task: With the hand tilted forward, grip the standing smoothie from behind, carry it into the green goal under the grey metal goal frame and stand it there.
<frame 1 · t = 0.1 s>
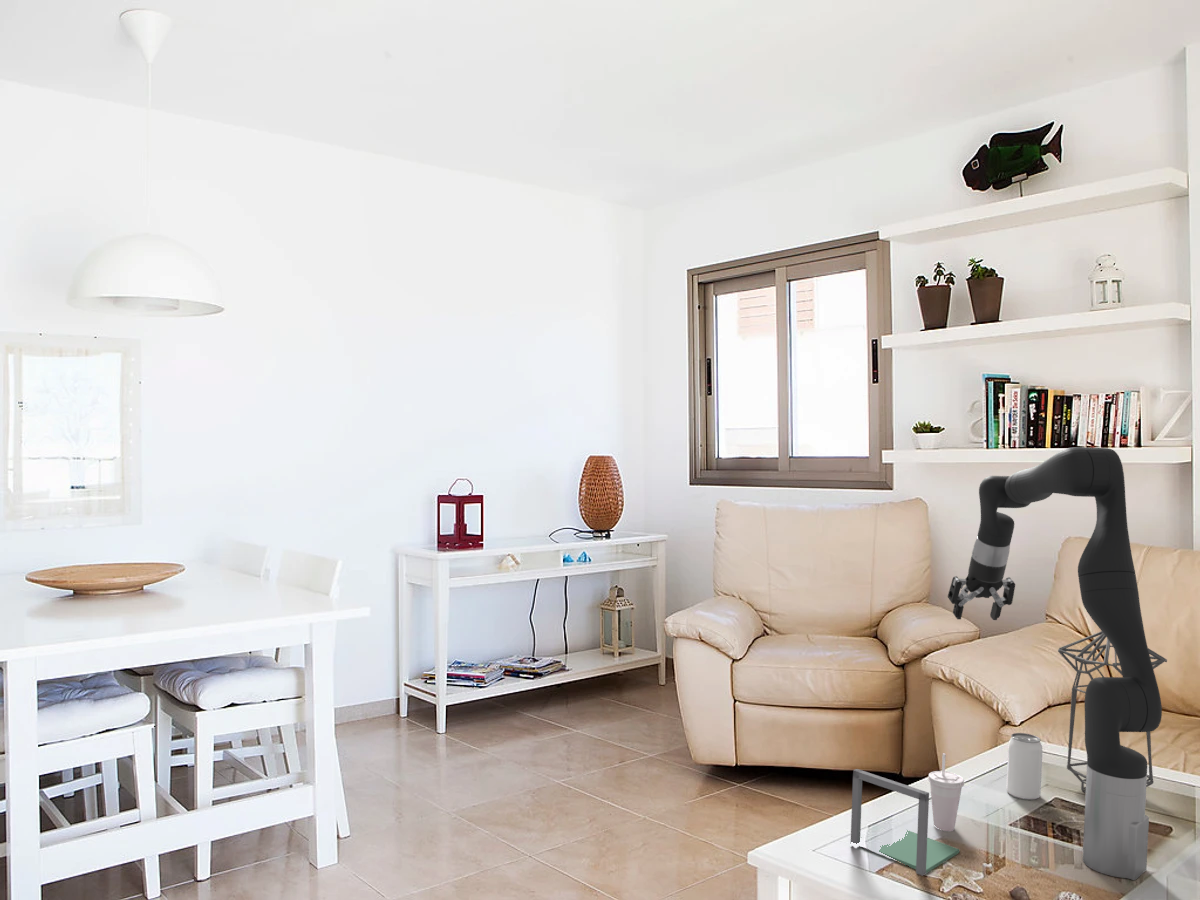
hand: (975, 618, 222), 31 cm above the table, tool tilted 20°, fingers open, 8 cm apart
smoothie: (944, 828, 181), on the table
goal: (906, 848, 172), on the table
can: (1023, 795, 198), on the table
geometric lantern: (1104, 794, 200), on the table
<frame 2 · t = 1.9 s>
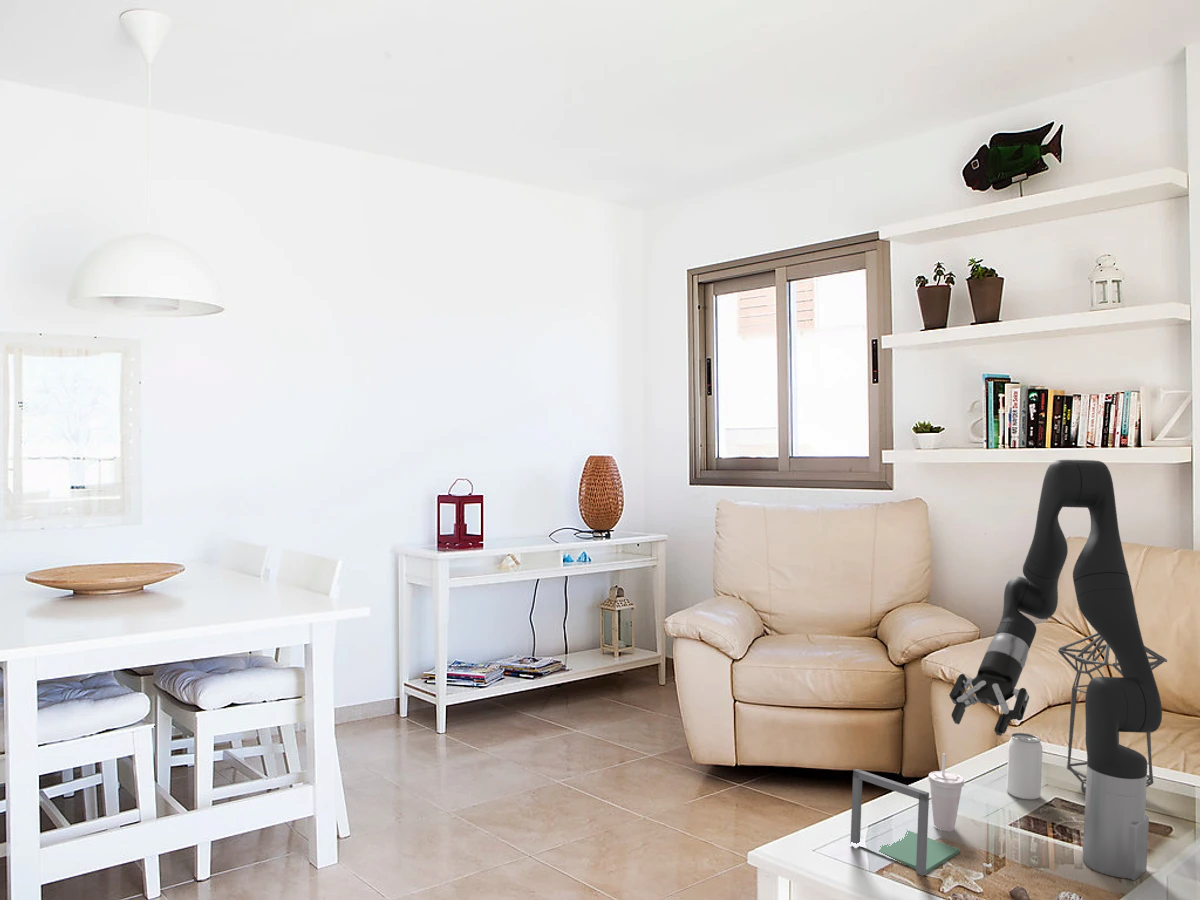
hand: (976, 727, 189), 17 cm above the table, tool tilted 45°, fingers open, 8 cm apart
nothing on the table moved.
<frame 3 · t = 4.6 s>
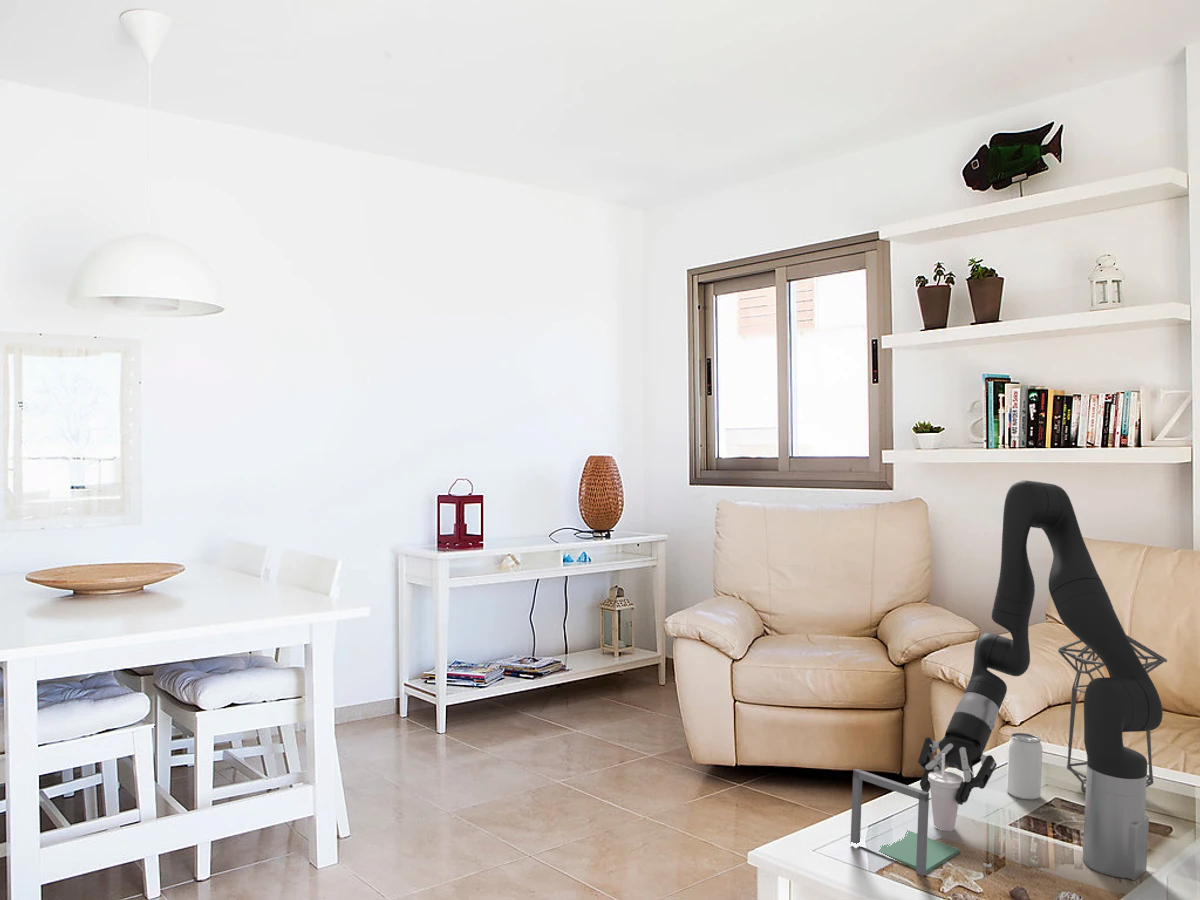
hand: (941, 796, 180), 6 cm above the table, tool tilted 45°, fingers closed on smoothie, 6 cm apart
smoothie: (944, 828, 181), on the table, touching gripper
everything else where it was.
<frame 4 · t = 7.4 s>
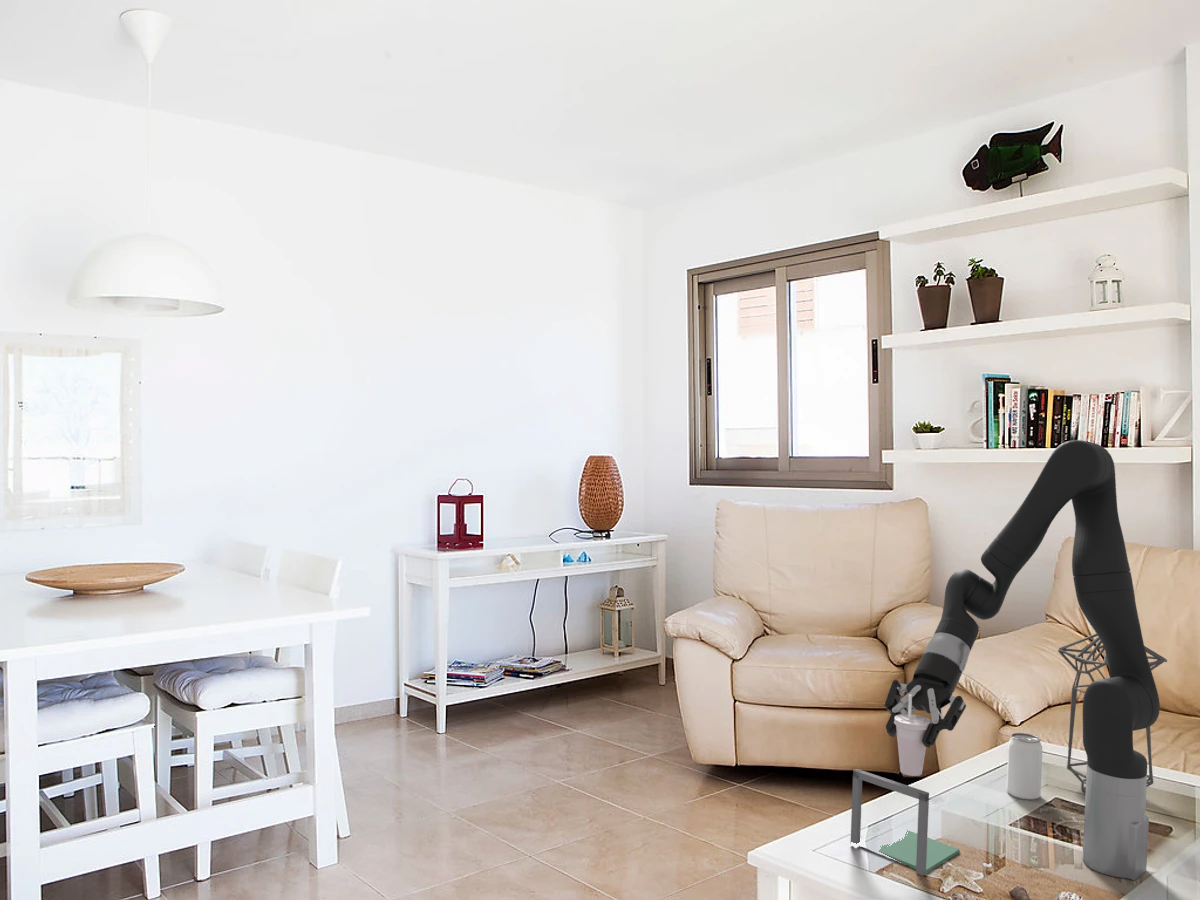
hand: (907, 739, 170), 20 cm above the table, tool tilted 45°, fingers closed on smoothie, 6 cm apart
smoothie: (911, 773, 172), point 14 cm above the table, touching gripper
everything else where it was.
when the fingers open (8 cm above the table, at t = 10.2 s): smoothie drops 1 cm, resting on goal.
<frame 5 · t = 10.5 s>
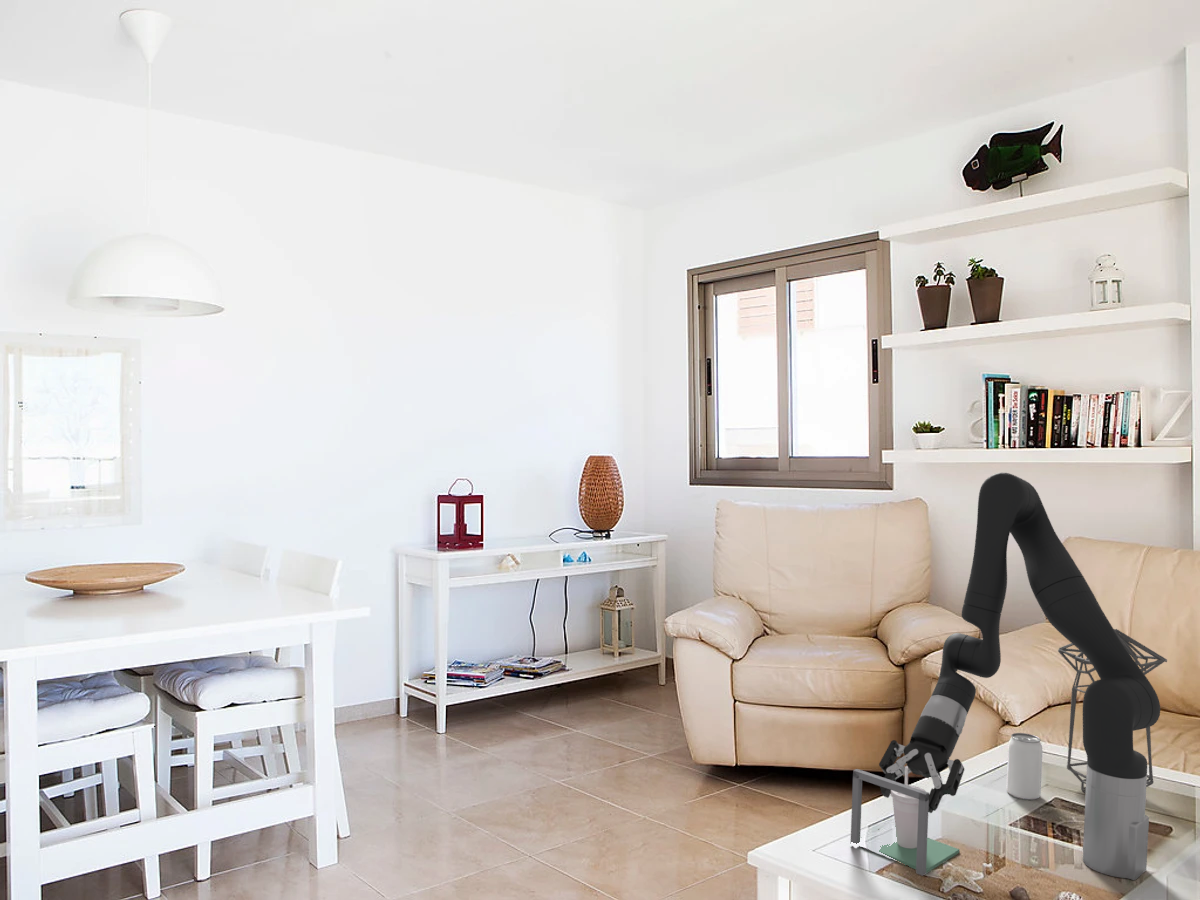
hand: (905, 802, 171), 9 cm above the table, tool tilted 45°, fingers open, 8 cm apart
smoothie: (907, 844, 172), resting on goal
everything else where it was.
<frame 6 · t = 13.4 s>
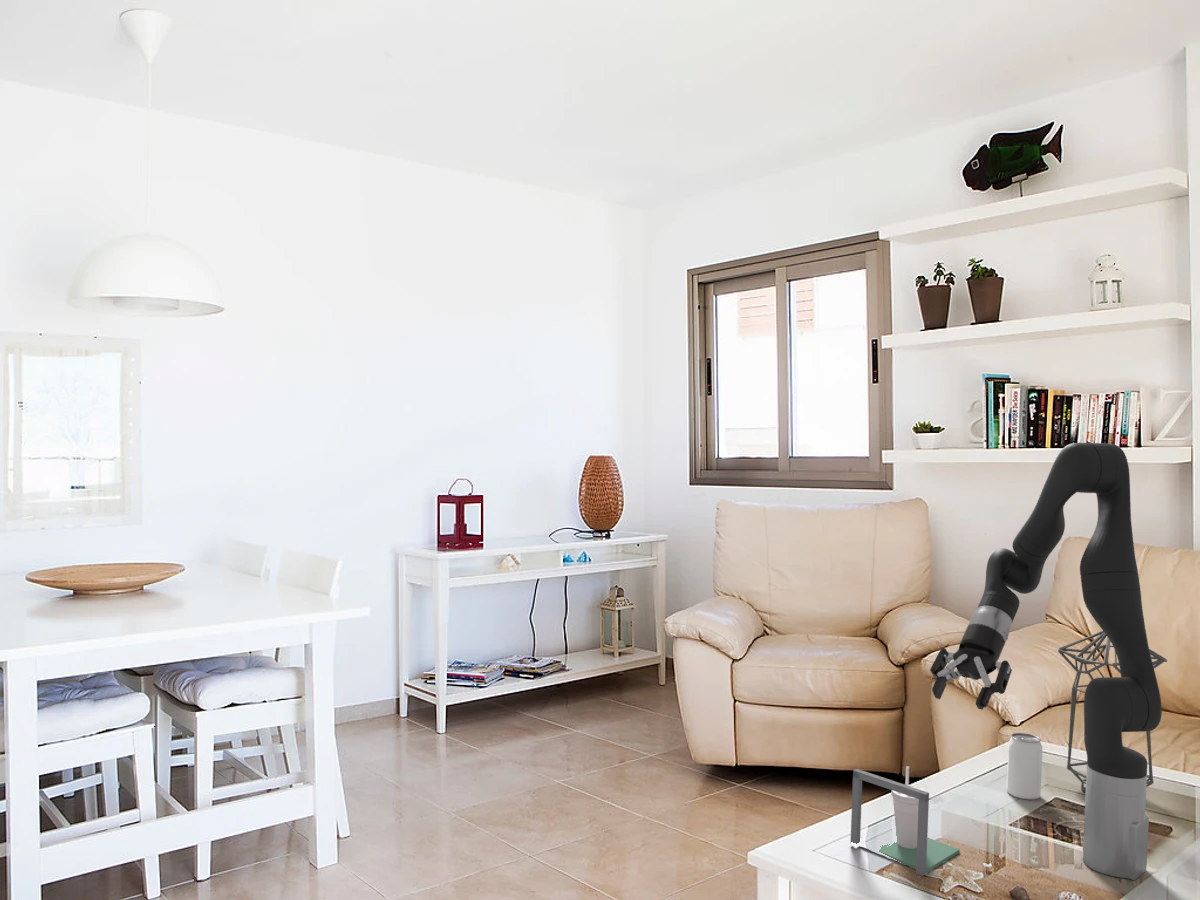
hand: (957, 701, 182), 23 cm above the table, tool tilted 45°, fingers open, 8 cm apart
nothing on the table moved.
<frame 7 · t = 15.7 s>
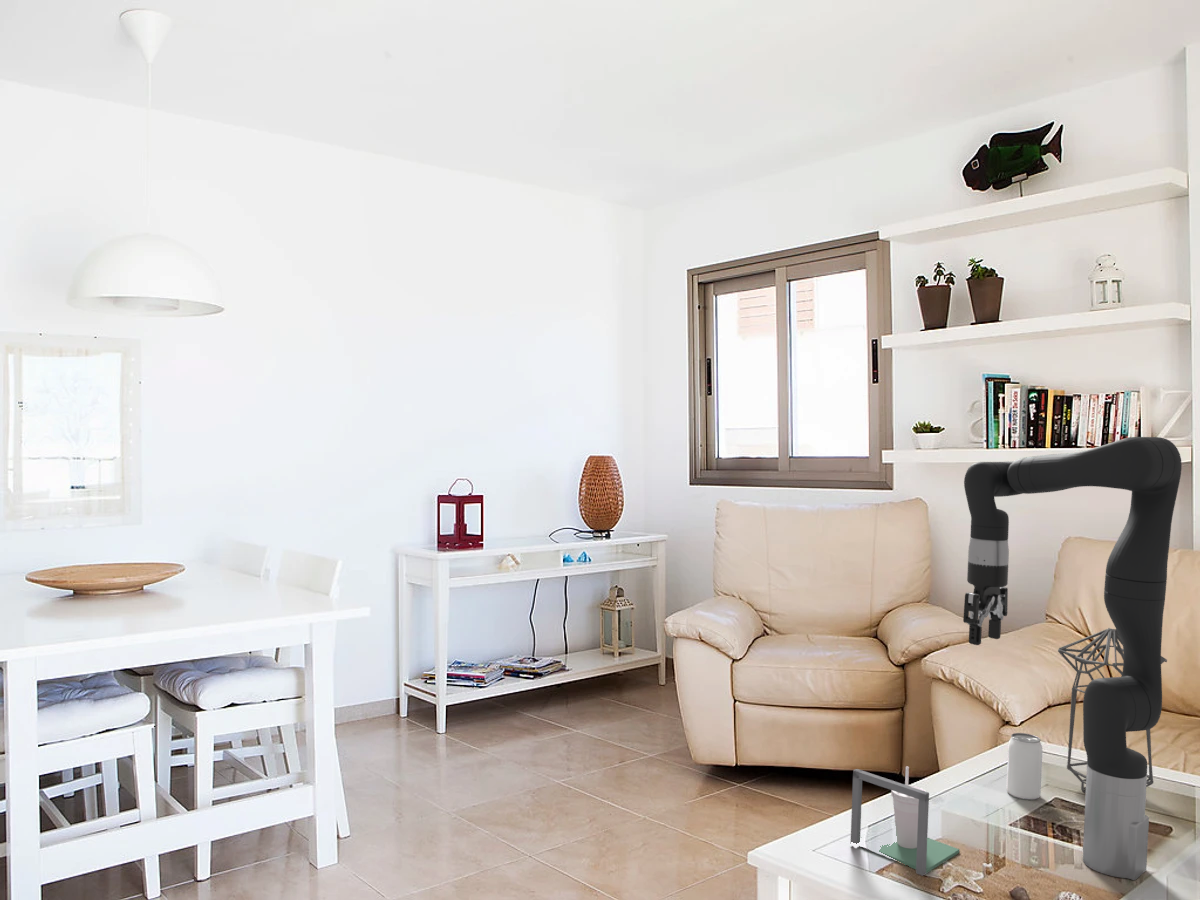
hand: (984, 641, 191), 33 cm above the table, tool pointing down, fingers open, 8 cm apart
nothing on the table moved.
at the end: smoothie inside the target area on the goal (0.7 cm from its centre), point 0.4 cm above the goal's base; smoothie tilted 0°; the gripper is holding nothing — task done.
